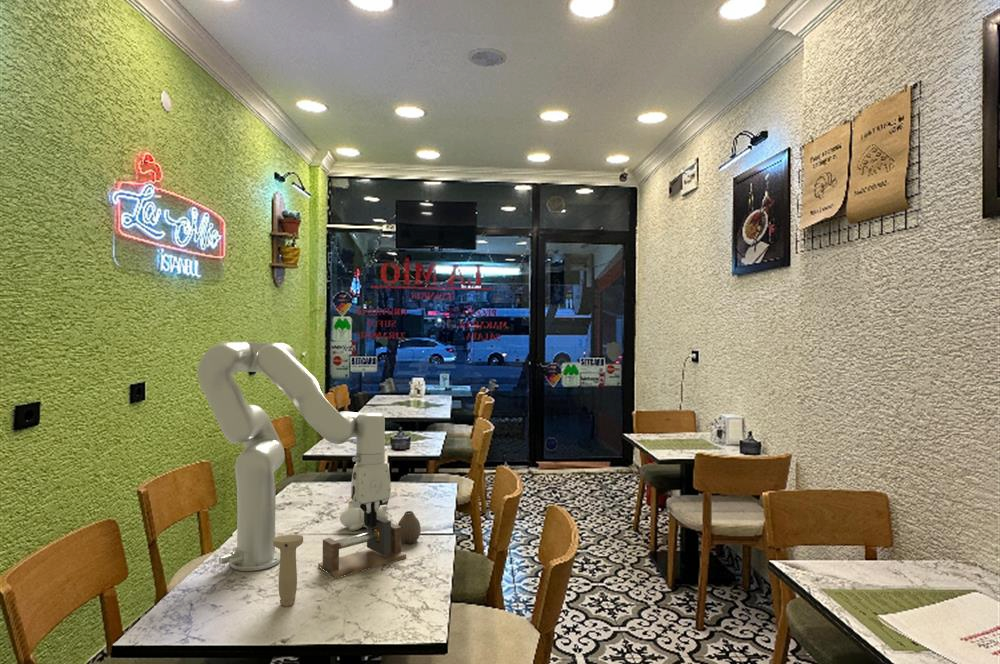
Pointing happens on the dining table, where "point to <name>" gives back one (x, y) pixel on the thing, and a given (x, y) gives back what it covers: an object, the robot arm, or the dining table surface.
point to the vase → (409, 528)
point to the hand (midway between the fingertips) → (370, 525)
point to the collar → (381, 537)
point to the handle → (287, 567)
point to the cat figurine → (358, 516)
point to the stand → (359, 556)
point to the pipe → (359, 539)
